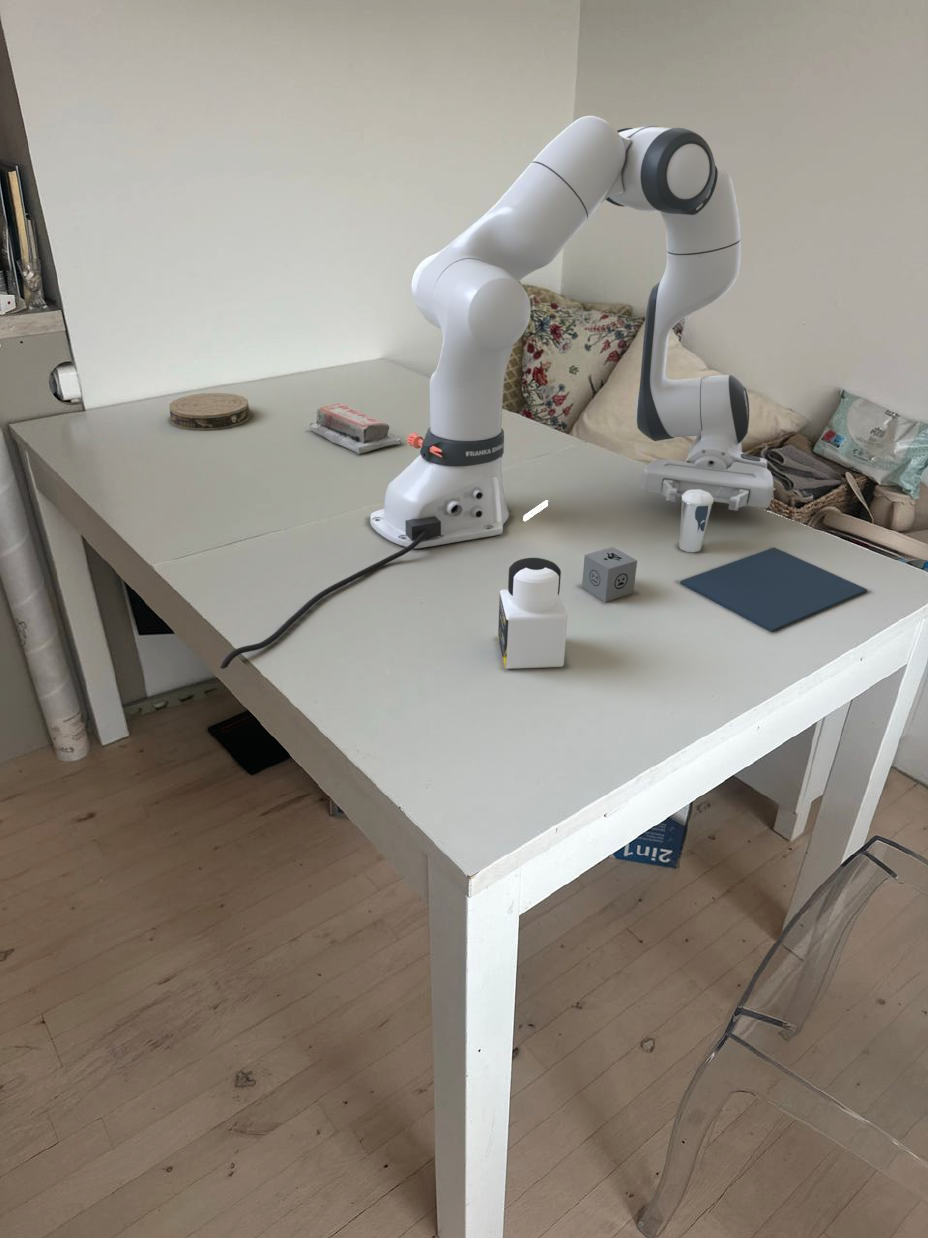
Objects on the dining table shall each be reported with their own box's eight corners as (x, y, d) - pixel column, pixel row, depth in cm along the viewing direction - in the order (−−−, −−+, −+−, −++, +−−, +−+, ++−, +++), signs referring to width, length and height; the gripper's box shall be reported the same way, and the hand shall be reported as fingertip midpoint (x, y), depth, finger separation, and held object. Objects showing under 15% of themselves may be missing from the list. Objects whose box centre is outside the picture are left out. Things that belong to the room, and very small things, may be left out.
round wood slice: (241, 403, 198) (239, 389, 196) (257, 424, 185) (256, 410, 184) (165, 411, 192) (163, 397, 191) (177, 434, 180) (175, 419, 178)
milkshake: (711, 556, 135) (721, 493, 130) (674, 552, 136) (683, 490, 131) (710, 543, 139) (720, 482, 134) (674, 540, 140) (683, 479, 135)
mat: (771, 632, 116) (772, 629, 116) (680, 583, 127) (680, 580, 127) (866, 591, 126) (867, 589, 126) (773, 549, 137) (774, 547, 137)
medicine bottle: (497, 638, 114) (500, 552, 108) (553, 636, 114) (560, 550, 108) (504, 670, 108) (508, 580, 101) (564, 667, 108) (571, 578, 102)
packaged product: (306, 407, 180) (348, 398, 185) (308, 431, 182) (349, 422, 188) (357, 430, 168) (401, 420, 174) (358, 455, 170) (401, 444, 176)
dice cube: (633, 593, 125) (637, 560, 122) (605, 602, 122) (608, 569, 120) (609, 578, 128) (613, 546, 126) (581, 587, 126) (584, 554, 123)
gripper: (650, 445, 152) (636, 473, 140) (777, 460, 146) (774, 490, 135) (645, 480, 155) (632, 510, 143) (770, 497, 149) (766, 529, 138)
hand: (702, 501), depth 139 cm, fingers open, 8 cm apart
